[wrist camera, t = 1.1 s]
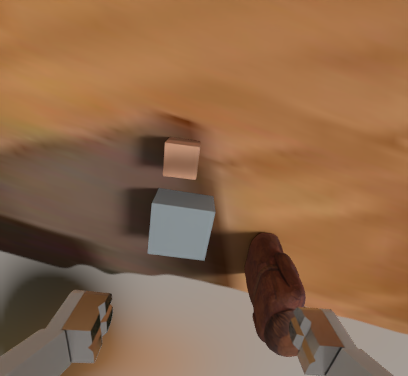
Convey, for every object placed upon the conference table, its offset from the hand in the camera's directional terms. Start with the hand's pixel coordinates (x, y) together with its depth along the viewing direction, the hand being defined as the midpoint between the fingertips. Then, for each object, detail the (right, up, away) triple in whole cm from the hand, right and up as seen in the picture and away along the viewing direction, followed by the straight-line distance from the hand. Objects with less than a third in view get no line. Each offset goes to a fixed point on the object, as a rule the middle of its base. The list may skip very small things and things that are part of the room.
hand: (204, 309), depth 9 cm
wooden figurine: (+12, -8, +34) cm, 37 cm away
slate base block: (-4, 0, +30) cm, 31 cm away
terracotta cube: (-3, +11, +26) cm, 28 cm away
